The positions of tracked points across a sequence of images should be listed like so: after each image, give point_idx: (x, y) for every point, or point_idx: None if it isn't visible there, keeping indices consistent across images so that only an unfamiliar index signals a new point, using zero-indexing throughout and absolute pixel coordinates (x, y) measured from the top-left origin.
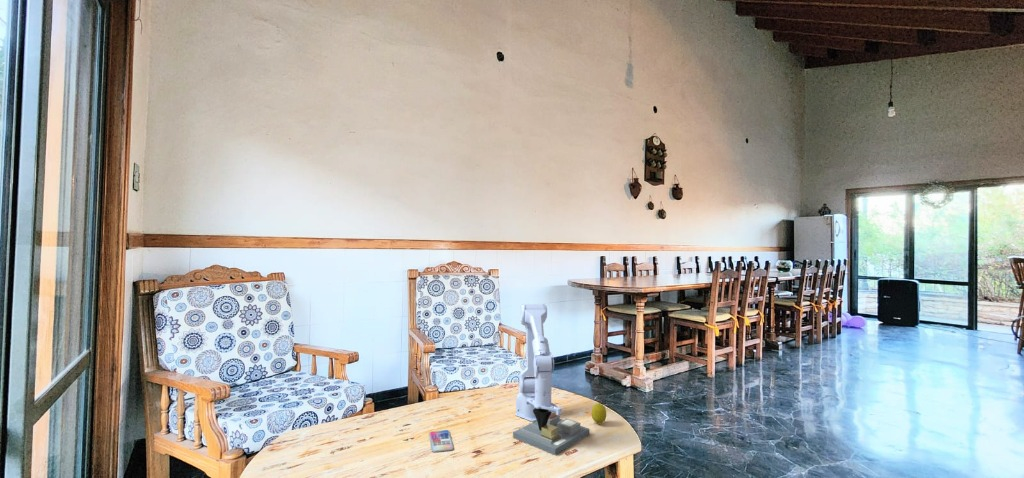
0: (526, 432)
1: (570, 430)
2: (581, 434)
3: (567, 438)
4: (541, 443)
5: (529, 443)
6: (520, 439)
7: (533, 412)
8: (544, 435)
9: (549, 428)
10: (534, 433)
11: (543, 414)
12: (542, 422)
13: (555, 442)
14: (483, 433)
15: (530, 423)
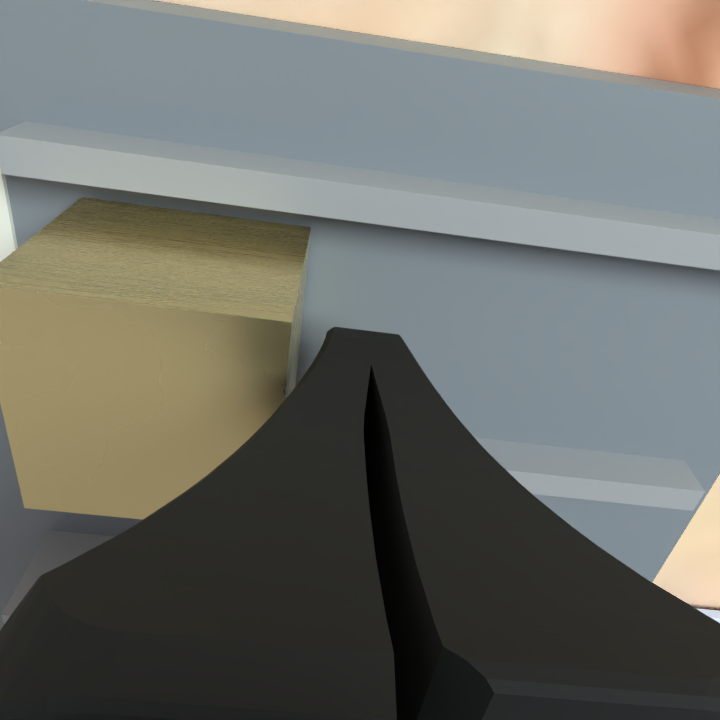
0: (646, 218)
1: (24, 582)
2: (1, 601)
3: (1, 439)
4: (177, 16)
5: (483, 53)
6: (695, 85)
7: (700, 621)
8: (225, 241)
9: (103, 373)
10: (507, 313)
11: (20, 634)
12: (272, 422)
13: (9, 220)
14: None
15: (680, 504)
